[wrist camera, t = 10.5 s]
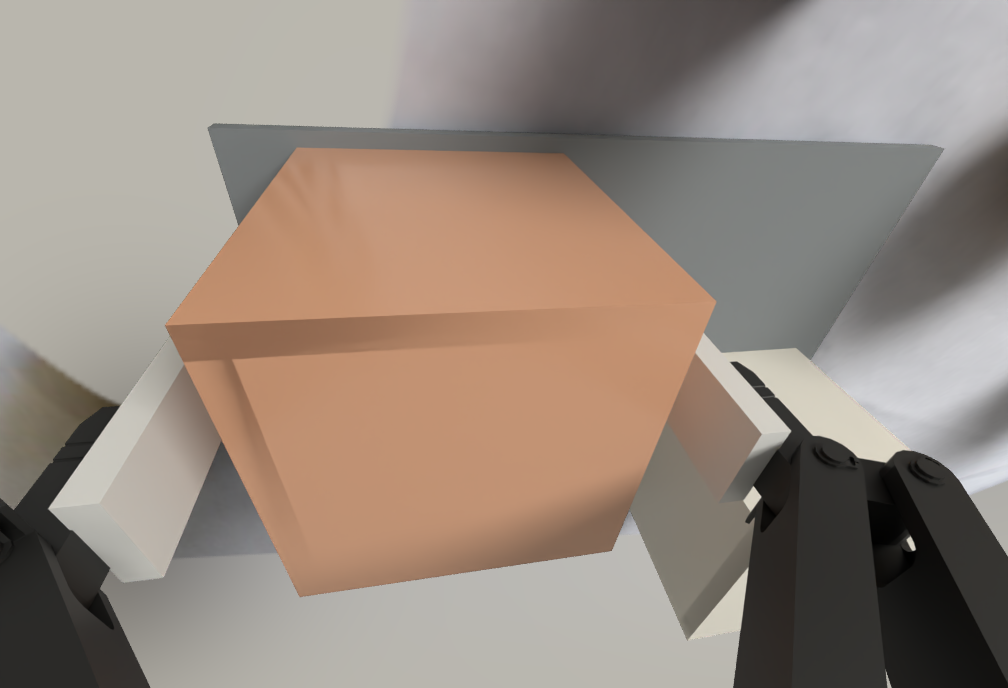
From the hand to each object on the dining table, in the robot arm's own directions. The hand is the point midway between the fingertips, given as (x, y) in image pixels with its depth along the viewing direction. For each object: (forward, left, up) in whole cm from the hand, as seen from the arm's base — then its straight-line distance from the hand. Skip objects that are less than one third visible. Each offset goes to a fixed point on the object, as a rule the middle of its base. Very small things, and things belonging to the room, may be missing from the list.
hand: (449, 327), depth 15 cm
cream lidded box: (+15, -10, -4) cm, 18 cm away
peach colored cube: (0, 0, -4) cm, 4 cm away
